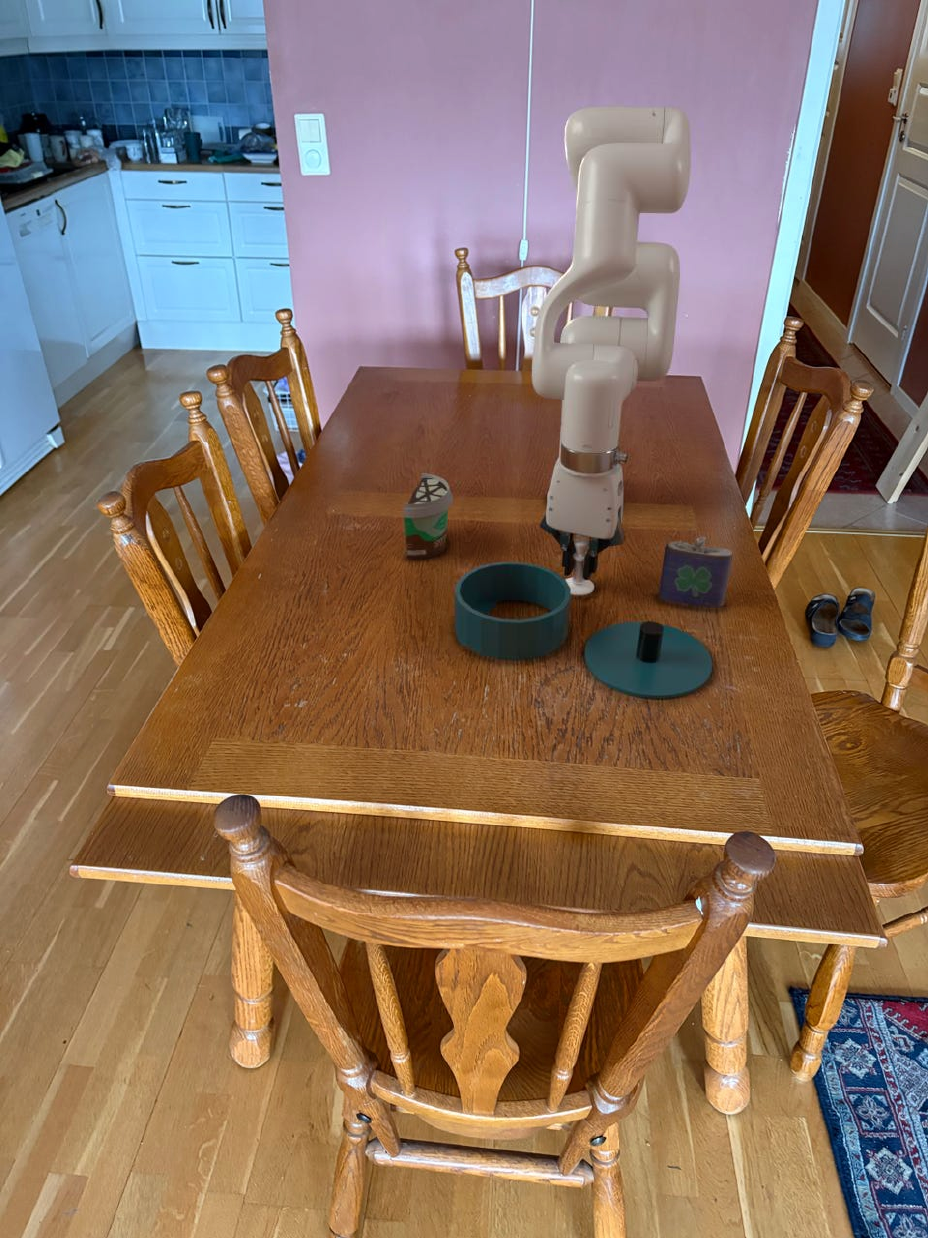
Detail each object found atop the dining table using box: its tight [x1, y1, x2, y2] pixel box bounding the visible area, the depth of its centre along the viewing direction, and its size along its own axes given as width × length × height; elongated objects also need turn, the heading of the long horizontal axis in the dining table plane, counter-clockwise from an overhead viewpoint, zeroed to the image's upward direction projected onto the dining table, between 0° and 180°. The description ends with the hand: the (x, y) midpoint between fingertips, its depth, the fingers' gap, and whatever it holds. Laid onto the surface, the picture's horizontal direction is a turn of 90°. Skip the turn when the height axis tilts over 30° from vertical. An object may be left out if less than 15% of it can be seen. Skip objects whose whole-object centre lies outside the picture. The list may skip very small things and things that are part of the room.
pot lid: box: [583, 620, 713, 700], centre depth 118 cm, size 16×16×6 cm
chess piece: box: [565, 534, 595, 596], centre depth 132 cm, size 5×5×10 cm
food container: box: [402, 472, 454, 561], centre depth 143 cm, size 12×6×10 cm, turn 168°
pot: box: [454, 560, 572, 661], centre depth 124 cm, size 15×15×6 cm
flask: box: [658, 535, 733, 608], centre depth 129 cm, size 9×3×11 cm, turn 74°
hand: (578, 572), depth 133 cm, fingers closed on chess piece, 2 cm apart
